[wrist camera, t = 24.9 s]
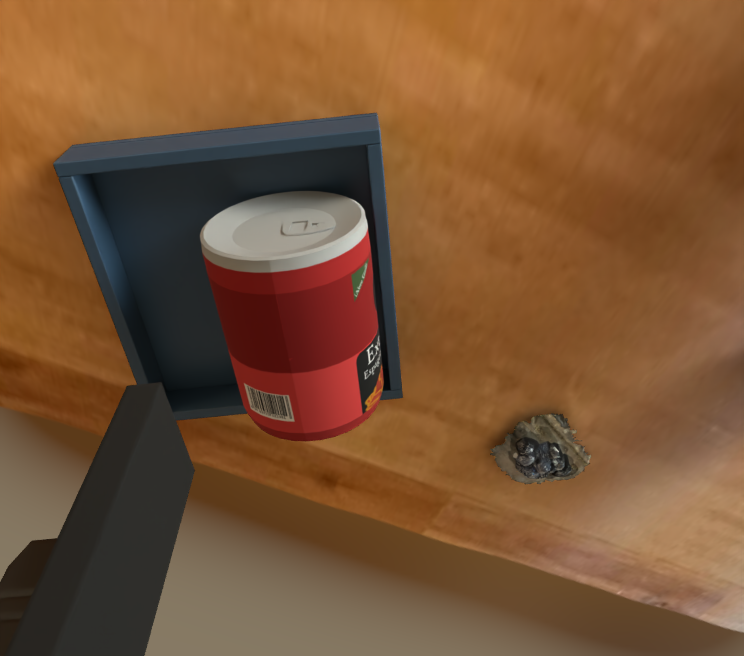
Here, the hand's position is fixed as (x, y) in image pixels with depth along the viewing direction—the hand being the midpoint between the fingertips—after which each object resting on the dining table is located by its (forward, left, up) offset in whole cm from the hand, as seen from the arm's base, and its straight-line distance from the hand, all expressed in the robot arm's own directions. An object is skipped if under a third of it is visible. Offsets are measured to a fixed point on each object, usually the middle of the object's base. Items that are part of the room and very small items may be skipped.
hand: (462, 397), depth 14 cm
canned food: (-4, +15, -17) cm, 23 cm away
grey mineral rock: (-22, +13, -22) cm, 34 cm away
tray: (+2, +11, -22) cm, 25 cm away
